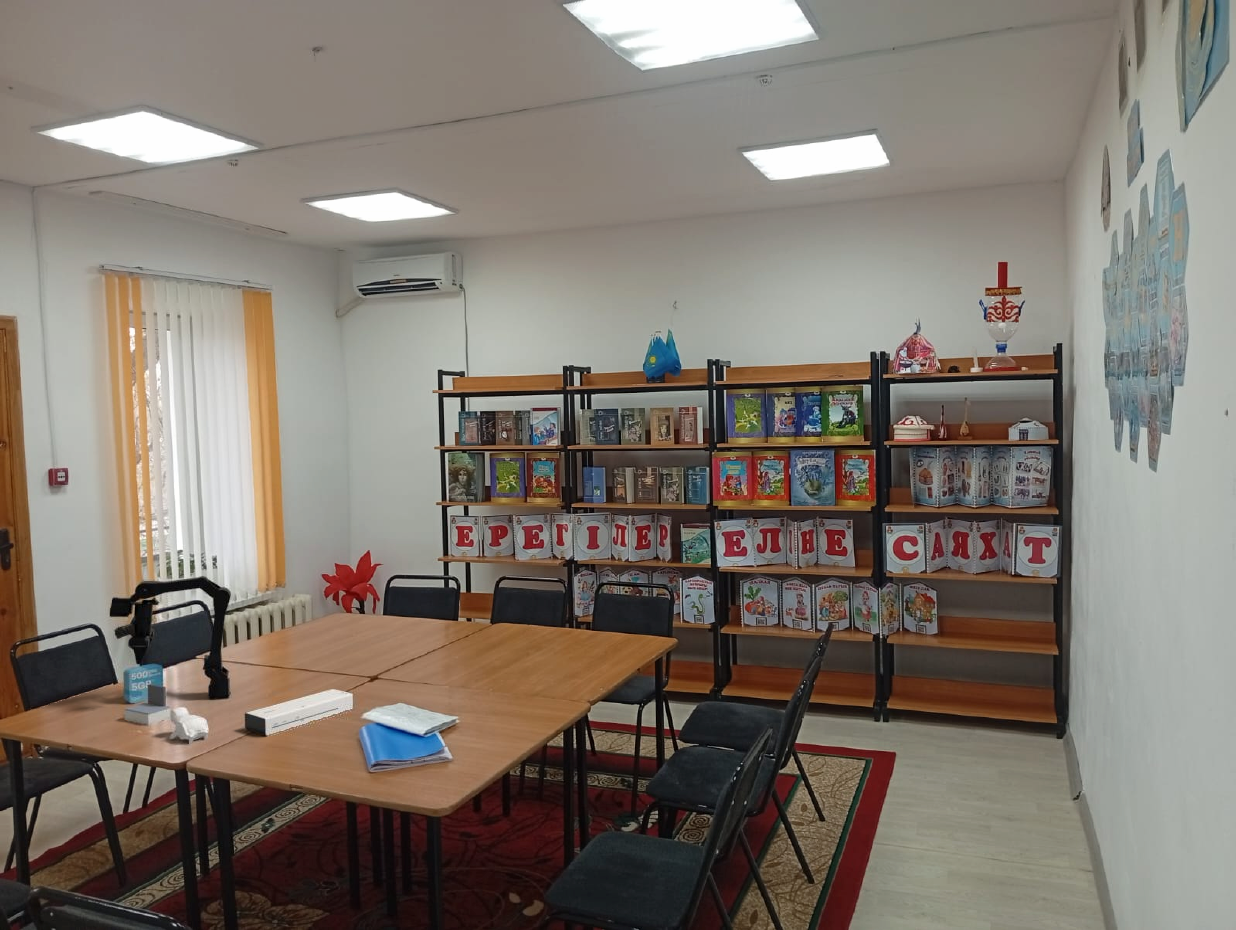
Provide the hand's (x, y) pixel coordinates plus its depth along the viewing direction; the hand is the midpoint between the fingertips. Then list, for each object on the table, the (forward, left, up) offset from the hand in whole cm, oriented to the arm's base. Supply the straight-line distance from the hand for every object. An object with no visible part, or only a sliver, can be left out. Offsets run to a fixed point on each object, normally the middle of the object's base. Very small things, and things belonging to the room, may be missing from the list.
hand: (139, 661), depth 321 cm
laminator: (-56, +33, -16) cm, 67 cm away
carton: (-6, +19, -16) cm, 25 cm away
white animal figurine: (-23, +42, -16) cm, 51 cm away
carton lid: (-6, +19, -12) cm, 23 cm away
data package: (0, -7, -16) cm, 17 cm away
